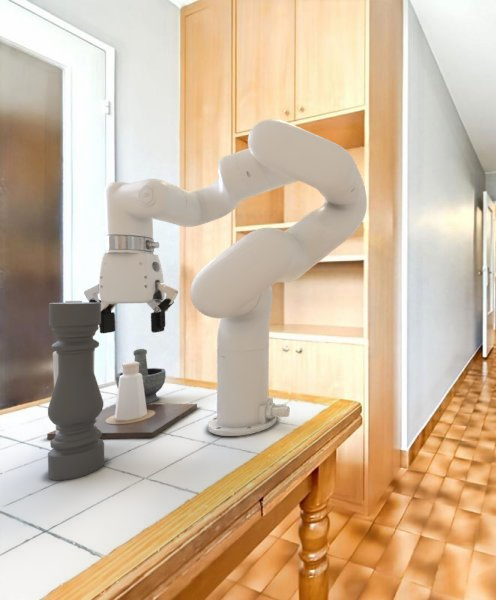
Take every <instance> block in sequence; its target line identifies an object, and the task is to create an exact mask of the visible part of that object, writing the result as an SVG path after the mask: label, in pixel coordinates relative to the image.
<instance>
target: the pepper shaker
mask: <svg viewBox="0 0 496 600" xmlns="http://www.w3.org/2000/svg"><path fill="white" fill-rule="evenodd" d="M121 367H122V372H123V375H121V376H120V378H119V385H118V388H117V393H116V394H117V395H116V402H115V403H116V404H115V405H116V410H115V419H116V420H117V421H128V420H133V419H138V418H141V417H143V416H145V415H147V408H146V404H147V403H146V400H145V393H144V385H143V378H142V374H141V373H138V372H139V362H135V361H127V362H123V363H122V364H121Z"/></svg>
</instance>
